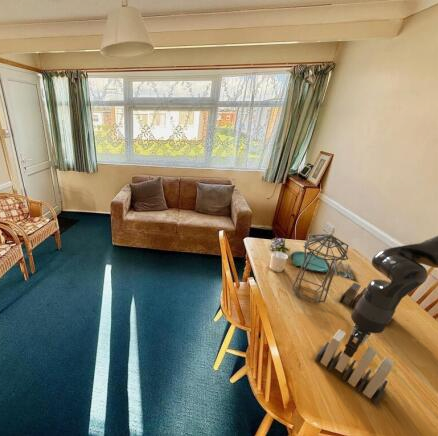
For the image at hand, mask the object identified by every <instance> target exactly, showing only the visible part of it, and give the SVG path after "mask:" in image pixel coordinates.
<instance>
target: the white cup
mask: <svg viewBox="0 0 438 436" xmlns="http://www.w3.org/2000/svg"><path fill="white" fill-rule="evenodd" d="M288 259H289V255H288V254H286V253H283V252H281V251H280V252H279V251H275V250H274V251H272V252H271V256H270V262H269V269H271V270H272V271H274V272H276V273H282V272H283V271H284V268H285V267H286V264H287V261H288Z"/></svg>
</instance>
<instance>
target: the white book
mask: <svg viewBox="0 0 438 436" xmlns="http://www.w3.org/2000/svg"><path fill="white" fill-rule="evenodd" d="M351 359H352V357H349V356H347V355H346V354H344V351H342V353H341V355H340V357H339V359H338V360H337V362H336V364H335V366H334V369H335V370H337V371H338V372H340V373H342V374H343V372H344V371H345V369H346V367H347V366H348V364H349V363H350V361H351Z"/></svg>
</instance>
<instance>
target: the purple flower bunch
mask: <svg viewBox="0 0 438 436" xmlns="http://www.w3.org/2000/svg"><path fill="white" fill-rule="evenodd" d="M270 242H271V244H270V250H274V249H275V250H276V251H279V252H283V253H285V254H286V253H287V252H290V251H291V248H288V247H286V238H282V237H279V238H278V237H274V238H271V240H270Z"/></svg>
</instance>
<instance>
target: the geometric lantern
mask: <svg viewBox="0 0 438 436" xmlns="http://www.w3.org/2000/svg"><path fill="white" fill-rule="evenodd" d="M311 237H312V238H311ZM322 241H323V242H322ZM318 243H319V245H318V246H316V247H315V248H314V249H313V248H311V247H313V246H315V245H316V244H318ZM326 243H327V245H326ZM343 246H346V247H345V248H344V247H343ZM324 247H325V248H326V252H325V253H323V252H321V250H322V249H323V248H324ZM303 248H304V251H303V252H304V262H303V265H302V267H301V266H300V269H299V272H298V274H297V275H296V278H295V280H294V282H293V285H292V288H291V290H292V291H293V292H294V293H295V294H296V297H298V298H300V297H302V298H305V299H307V300H309V301H313V303H314V304H317V303H324V302H326V299H327V296H328V293H329V291H330V287H331V284H332V281H333V278H334V274H335V269H336V270H337V268H338V267H339V266H340V263H342V261H347V260H349V257H348V255H347V253H348V249H349V244H347V243H346V242H344V241H342V240H340V239H339V238H337V237H335V236H334V235H332V234H328V233H323V234H322V233H321V234H320V233H319V234H307V240H306V241H304V246H303ZM333 248H336V249H337V251H338V253H339V254H340V256H336V255H334V252H333ZM307 250H308V251H307ZM329 250H330V252H331V254H332V255H330V254H329ZM309 253H311V256H310V258H309V260H308V262H307V260H306V259H307V257H308V254H309ZM312 255H314V256H315V257H316V258H315V259H317V258H318V259H322V260H325V262H326V264H327V267H328V269H327V268H324V267H321V266H318V265H315V264H312V263H309V262H310V259H311V257H312ZM317 256H321V257H322V258H319V257H317ZM323 258H324V259H323ZM315 259H313V260H315ZM326 260H327V261H331V263H330V264H329V265H330V267H329V266H328V263H329V262H328V263H327V261H326ZM311 261H312V260H311ZM338 261H339V263H338V264H337V262H338ZM305 262H307V263H306V266H305V268H303V266H304V264H305ZM333 262H335V264H334V263H333ZM308 264H312V265H315V266H318V267H321V268H324V269H327V270H328V272H326V274H325V276H324V279H323V281H322V283H321V285H320V284H318V283H316V282H313V281H310V280H307V279H304V275H305V273H306V271H307V269H306V268H307V266H308ZM332 266H333V267H332ZM335 267H336V268H335ZM302 270H303V271H302ZM330 272H331V273H330ZM301 273H302V274H301ZM300 275H301V277H300ZM329 275H330V277H329ZM298 280H299V282H298ZM302 281H304V282H307V283H310V284H312V285H315V286H317V287H318V288H317V289H316V290H315V289H312V288H310V287H306V286H303V285H302ZM296 284H297V289H296V290H295V289H294V288H295V286H296ZM326 285H327V286H326ZM301 288H304V289H308V290H311V291H314V292H313V293H314V294H316V299H315V298H313V297H310V296H308V295H306V294H303V293H301V292H300V291H299V290H300V289H301ZM321 288H322V289H321ZM320 289H321V291H319V290H320ZM324 292H325V293H324ZM319 293H320V295H319ZM323 294H324V296H323ZM322 297H323V299H322Z"/></svg>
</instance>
